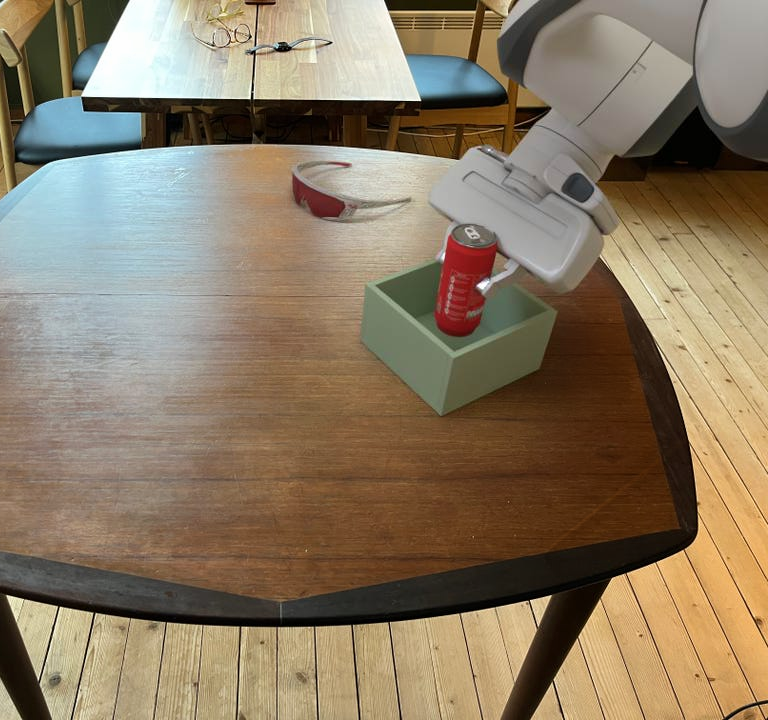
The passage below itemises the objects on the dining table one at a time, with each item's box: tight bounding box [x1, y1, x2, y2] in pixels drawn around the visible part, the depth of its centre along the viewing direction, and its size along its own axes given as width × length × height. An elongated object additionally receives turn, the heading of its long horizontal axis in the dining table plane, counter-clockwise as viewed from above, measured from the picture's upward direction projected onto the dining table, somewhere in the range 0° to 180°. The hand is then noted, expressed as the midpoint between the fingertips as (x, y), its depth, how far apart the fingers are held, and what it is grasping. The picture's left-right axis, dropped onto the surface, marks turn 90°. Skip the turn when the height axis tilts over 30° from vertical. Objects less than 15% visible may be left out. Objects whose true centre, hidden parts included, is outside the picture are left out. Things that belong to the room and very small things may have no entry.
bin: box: [359, 257, 558, 417], centre depth 88 cm, size 16×16×9 cm
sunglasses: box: [291, 160, 413, 221], centre depth 119 cm, size 17×17×5 cm
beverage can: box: [434, 223, 498, 337], centre depth 80 cm, size 5×5×12 cm
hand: (461, 280), depth 80 cm, fingers closed on beverage can, 5 cm apart
